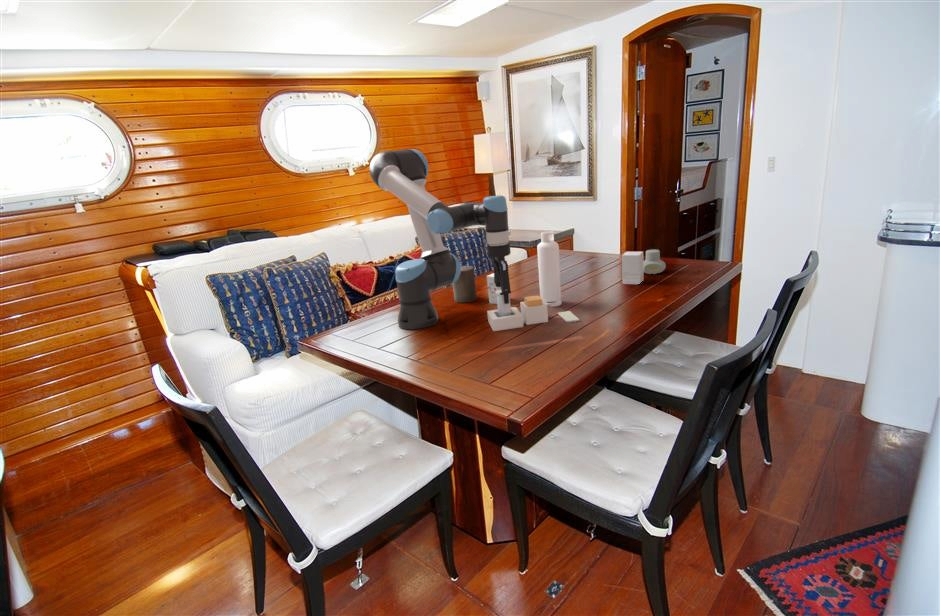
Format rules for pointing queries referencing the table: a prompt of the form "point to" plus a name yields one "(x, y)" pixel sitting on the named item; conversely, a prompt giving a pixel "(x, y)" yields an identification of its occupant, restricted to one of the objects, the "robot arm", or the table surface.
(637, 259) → the supplement box
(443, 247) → the robot arm
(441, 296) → the table surface
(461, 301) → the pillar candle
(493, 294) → the ink cartridge box
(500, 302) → the grey rounded cylinder
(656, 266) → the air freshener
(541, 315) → the white compartment holder
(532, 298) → the plunger
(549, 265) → the bottle
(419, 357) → the table surface
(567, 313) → the rubber mat
